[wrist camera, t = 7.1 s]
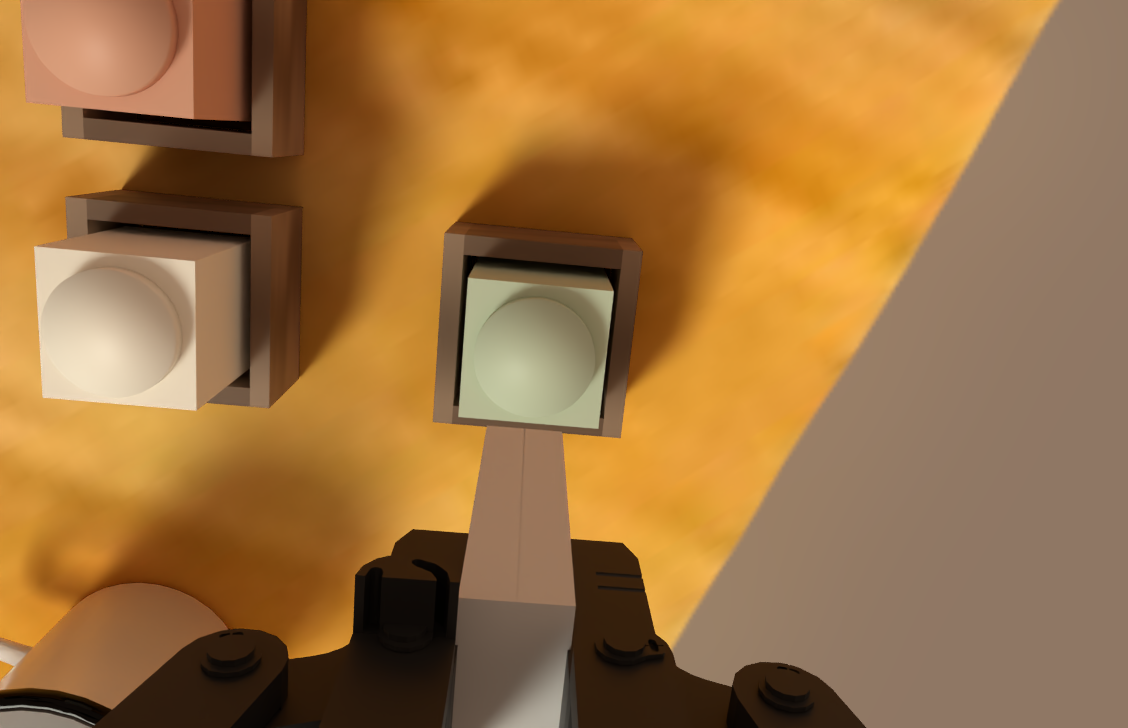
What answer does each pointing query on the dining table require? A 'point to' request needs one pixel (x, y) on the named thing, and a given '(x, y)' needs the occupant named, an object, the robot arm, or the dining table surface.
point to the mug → (98, 655)
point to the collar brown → (272, 98)
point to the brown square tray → (540, 248)
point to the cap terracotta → (141, 56)
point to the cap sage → (535, 342)
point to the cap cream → (143, 316)
